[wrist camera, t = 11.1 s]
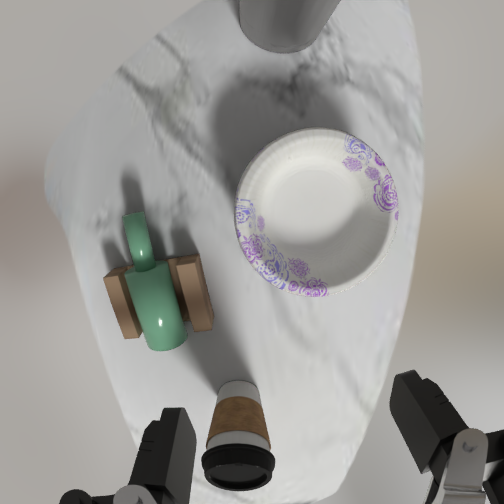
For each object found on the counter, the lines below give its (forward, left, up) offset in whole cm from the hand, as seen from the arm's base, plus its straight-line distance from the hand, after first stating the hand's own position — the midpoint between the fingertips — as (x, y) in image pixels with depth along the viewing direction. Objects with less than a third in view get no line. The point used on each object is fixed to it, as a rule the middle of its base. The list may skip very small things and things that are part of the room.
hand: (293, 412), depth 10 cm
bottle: (+9, -13, -22) cm, 26 cm away
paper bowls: (-4, +6, -25) cm, 26 cm away
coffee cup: (+21, -6, -25) cm, 33 cm away
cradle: (+4, -12, -24) cm, 28 cm away
